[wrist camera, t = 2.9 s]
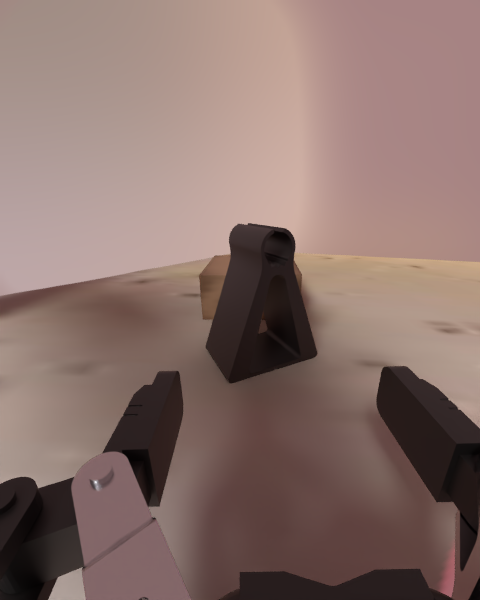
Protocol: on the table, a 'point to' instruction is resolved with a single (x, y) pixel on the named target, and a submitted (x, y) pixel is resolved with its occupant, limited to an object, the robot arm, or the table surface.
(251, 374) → the phone stand
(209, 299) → the walnut block
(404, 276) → the table surface
